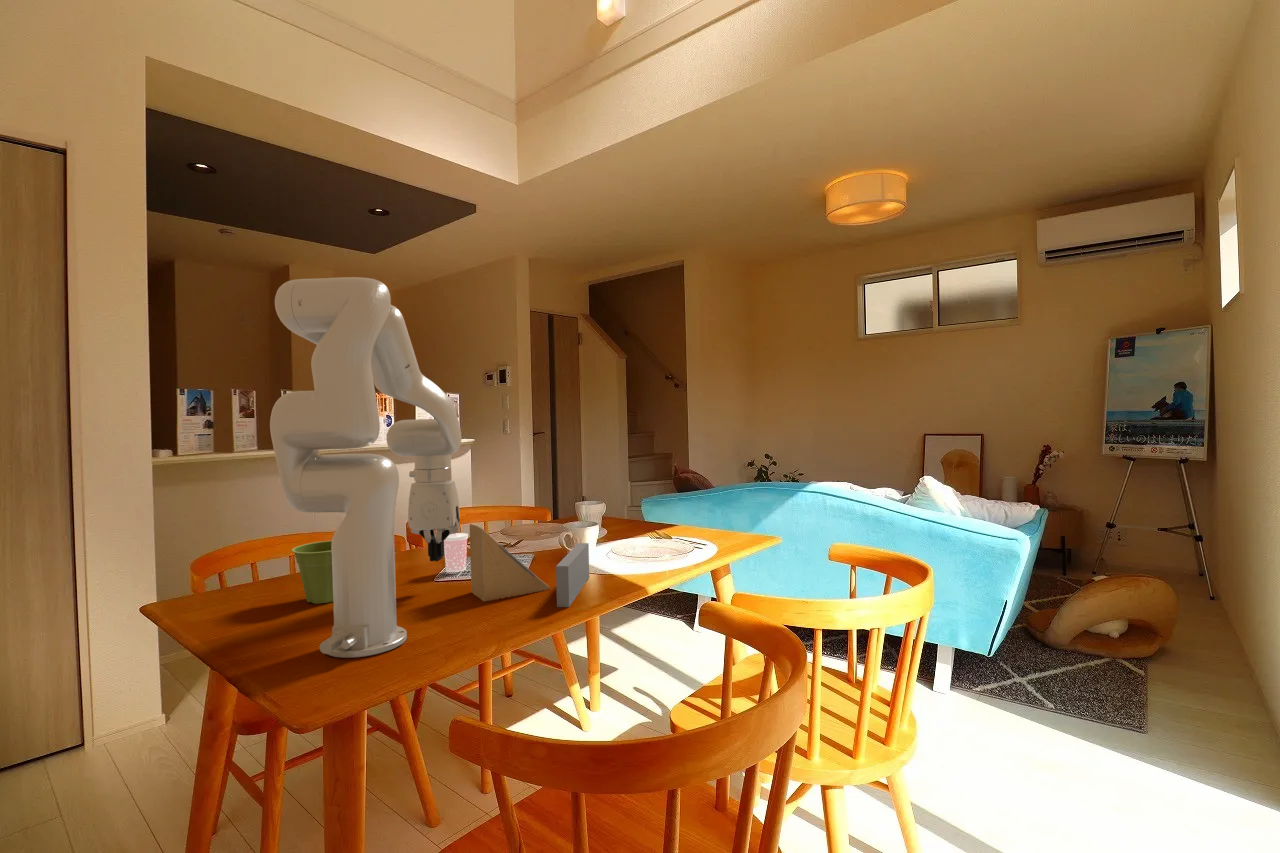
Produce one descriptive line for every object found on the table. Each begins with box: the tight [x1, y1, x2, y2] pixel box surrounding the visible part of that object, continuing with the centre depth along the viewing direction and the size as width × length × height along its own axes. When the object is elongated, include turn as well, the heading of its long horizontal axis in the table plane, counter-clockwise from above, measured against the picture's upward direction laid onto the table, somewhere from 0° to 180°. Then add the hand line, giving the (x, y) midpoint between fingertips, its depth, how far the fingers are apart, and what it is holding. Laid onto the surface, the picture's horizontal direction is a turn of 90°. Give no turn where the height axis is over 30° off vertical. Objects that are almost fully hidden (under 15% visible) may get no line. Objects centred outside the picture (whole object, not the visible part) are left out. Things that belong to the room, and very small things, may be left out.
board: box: [555, 542, 590, 608], centre depth 133 cm, size 22×2×8 cm, turn 174°
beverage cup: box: [444, 532, 469, 572], centre depth 152 cm, size 6×6×14 cm
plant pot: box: [291, 540, 333, 605], centre depth 131 cm, size 12×12×11 cm
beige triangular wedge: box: [469, 523, 552, 602], centre depth 134 cm, size 9×15×15 cm, turn 122°
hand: (436, 559), depth 136 cm, fingers closed
